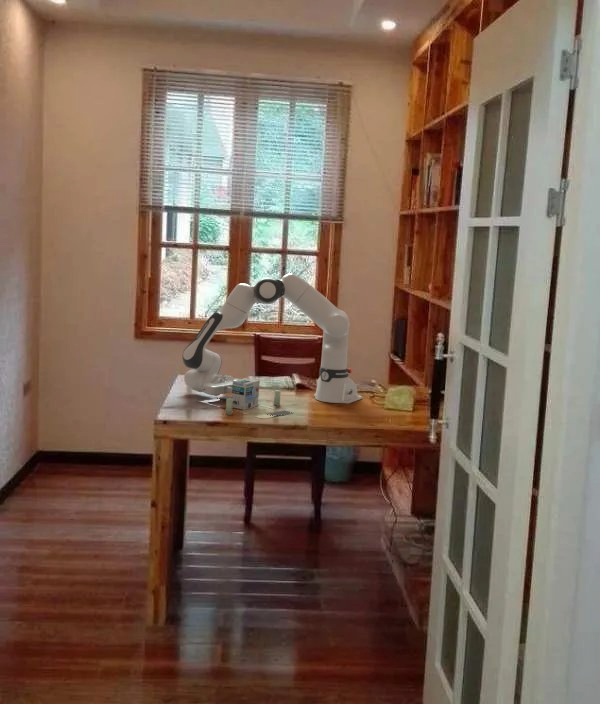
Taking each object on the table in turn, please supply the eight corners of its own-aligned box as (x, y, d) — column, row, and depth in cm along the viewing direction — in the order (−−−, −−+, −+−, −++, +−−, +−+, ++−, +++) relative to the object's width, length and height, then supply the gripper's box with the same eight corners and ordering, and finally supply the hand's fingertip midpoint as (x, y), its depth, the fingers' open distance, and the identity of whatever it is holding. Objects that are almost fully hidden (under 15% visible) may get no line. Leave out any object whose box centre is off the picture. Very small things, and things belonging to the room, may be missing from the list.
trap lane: (237, 394, 344) (238, 380, 344) (303, 410, 321) (304, 396, 320) (184, 403, 321) (185, 388, 320) (252, 421, 298) (252, 406, 297)
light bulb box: (244, 410, 315) (246, 383, 314) (230, 407, 318) (232, 381, 317) (258, 406, 325) (260, 380, 323) (244, 403, 328) (246, 377, 326)
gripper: (196, 380, 323) (220, 385, 314) (232, 375, 339) (256, 380, 330) (196, 395, 324) (219, 401, 315) (231, 389, 340) (255, 395, 331)
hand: (238, 390), depth 323 cm, fingers closed
